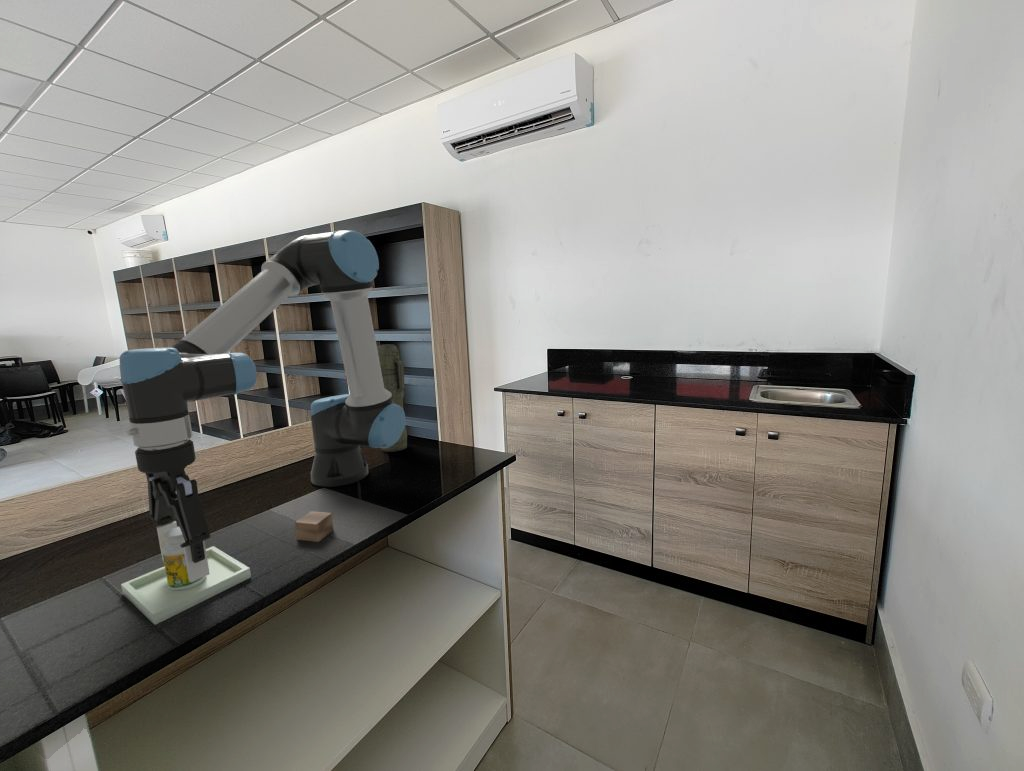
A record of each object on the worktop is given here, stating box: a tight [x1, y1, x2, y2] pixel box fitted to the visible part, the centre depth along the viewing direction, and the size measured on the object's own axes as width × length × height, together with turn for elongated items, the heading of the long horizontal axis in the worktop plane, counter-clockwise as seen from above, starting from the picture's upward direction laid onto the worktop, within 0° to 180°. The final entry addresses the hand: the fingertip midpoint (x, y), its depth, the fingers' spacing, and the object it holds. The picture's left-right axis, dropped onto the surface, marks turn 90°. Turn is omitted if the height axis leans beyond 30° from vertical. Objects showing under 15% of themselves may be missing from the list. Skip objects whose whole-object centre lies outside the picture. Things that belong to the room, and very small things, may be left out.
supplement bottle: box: [162, 526, 206, 591], centre depth 75 cm, size 5×5×10 cm
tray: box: [120, 545, 252, 626], centre depth 76 cm, size 14×14×2 cm
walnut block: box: [294, 510, 334, 543], centre depth 92 cm, size 5×5×4 cm
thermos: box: [377, 343, 408, 453], centre depth 146 cm, size 9×12×35 cm
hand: (185, 567), depth 75 cm, fingers open, 10 cm apart
